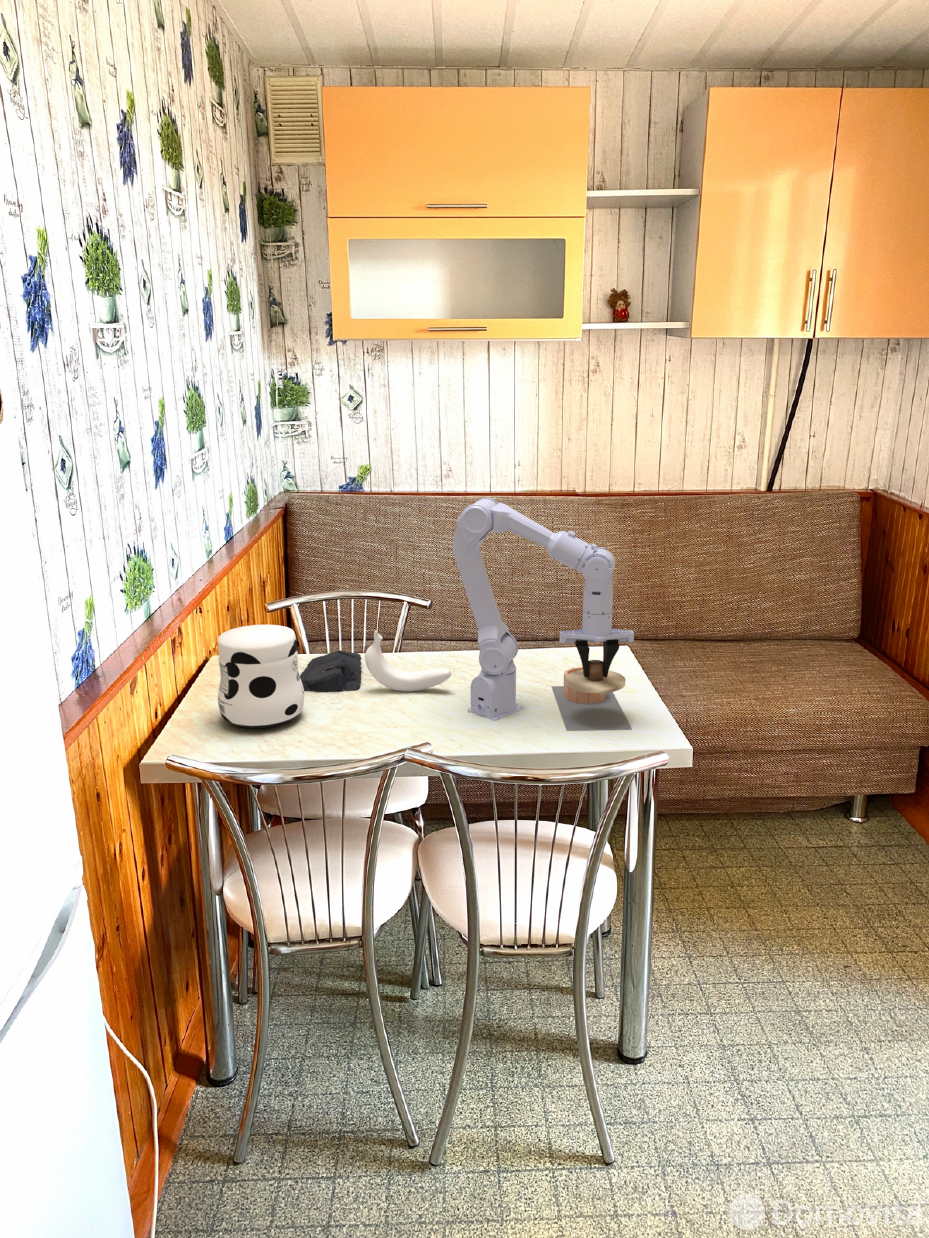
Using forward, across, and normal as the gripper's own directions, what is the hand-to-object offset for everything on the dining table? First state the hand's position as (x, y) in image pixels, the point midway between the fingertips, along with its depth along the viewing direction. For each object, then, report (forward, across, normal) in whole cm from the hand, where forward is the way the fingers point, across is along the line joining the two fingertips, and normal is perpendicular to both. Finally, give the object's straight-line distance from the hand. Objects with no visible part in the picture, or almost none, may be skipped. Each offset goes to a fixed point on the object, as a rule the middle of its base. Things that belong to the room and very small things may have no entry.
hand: (595, 675), depth 187 cm
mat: (+9, 0, +6) cm, 11 cm away
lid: (+1, 0, 0) cm, 1 cm away
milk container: (+10, -68, +4) cm, 69 cm away
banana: (+10, -38, +18) cm, 43 cm away
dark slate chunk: (+10, -56, +29) cm, 64 cm away
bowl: (+9, 0, +12) cm, 15 cm away
